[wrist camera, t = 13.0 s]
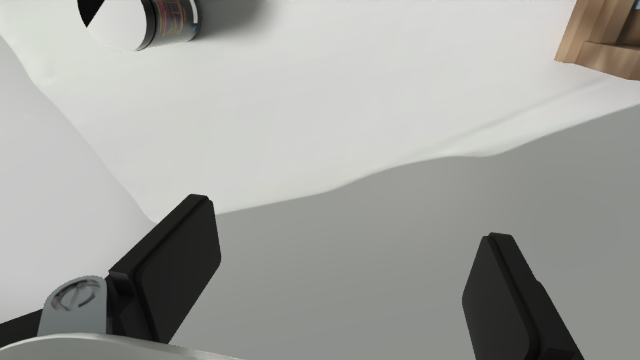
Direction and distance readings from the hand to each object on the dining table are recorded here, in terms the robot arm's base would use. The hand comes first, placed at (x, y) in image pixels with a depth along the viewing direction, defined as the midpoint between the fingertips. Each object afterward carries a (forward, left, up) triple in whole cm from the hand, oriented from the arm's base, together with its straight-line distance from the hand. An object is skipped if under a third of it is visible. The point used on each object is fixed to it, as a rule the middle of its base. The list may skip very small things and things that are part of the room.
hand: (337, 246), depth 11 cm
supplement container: (-6, -24, -30) cm, 39 cm away
